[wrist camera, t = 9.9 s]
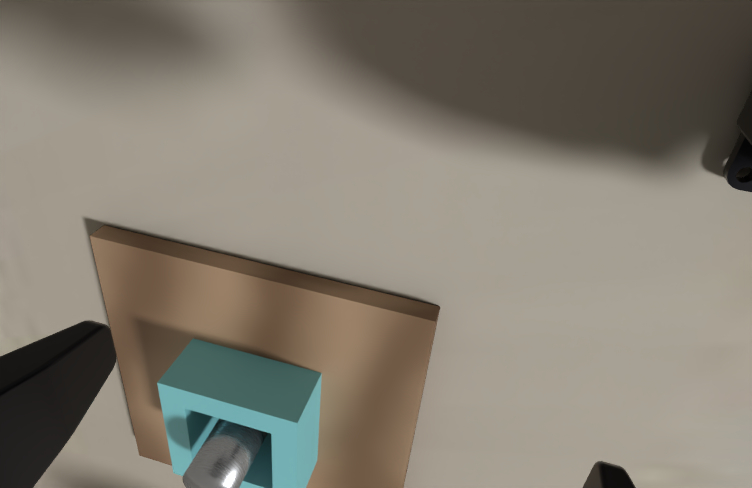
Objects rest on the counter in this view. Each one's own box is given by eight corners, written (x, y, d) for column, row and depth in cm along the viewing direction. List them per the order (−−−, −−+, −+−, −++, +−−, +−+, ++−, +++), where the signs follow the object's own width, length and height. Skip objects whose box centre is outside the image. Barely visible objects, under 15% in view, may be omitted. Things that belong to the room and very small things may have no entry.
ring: (321, 373, 26) (297, 423, 23) (317, 460, 30) (295, 511, 27) (193, 338, 27) (156, 382, 25) (203, 426, 31) (173, 473, 28)
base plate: (440, 306, 23) (436, 321, 23) (396, 519, 32) (392, 535, 31) (104, 225, 26) (89, 236, 25) (149, 442, 35) (139, 455, 34)
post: (279, 392, 27) (231, 479, 23) (279, 424, 29) (234, 511, 25) (234, 379, 28) (179, 463, 24) (236, 411, 29) (185, 496, 25)
